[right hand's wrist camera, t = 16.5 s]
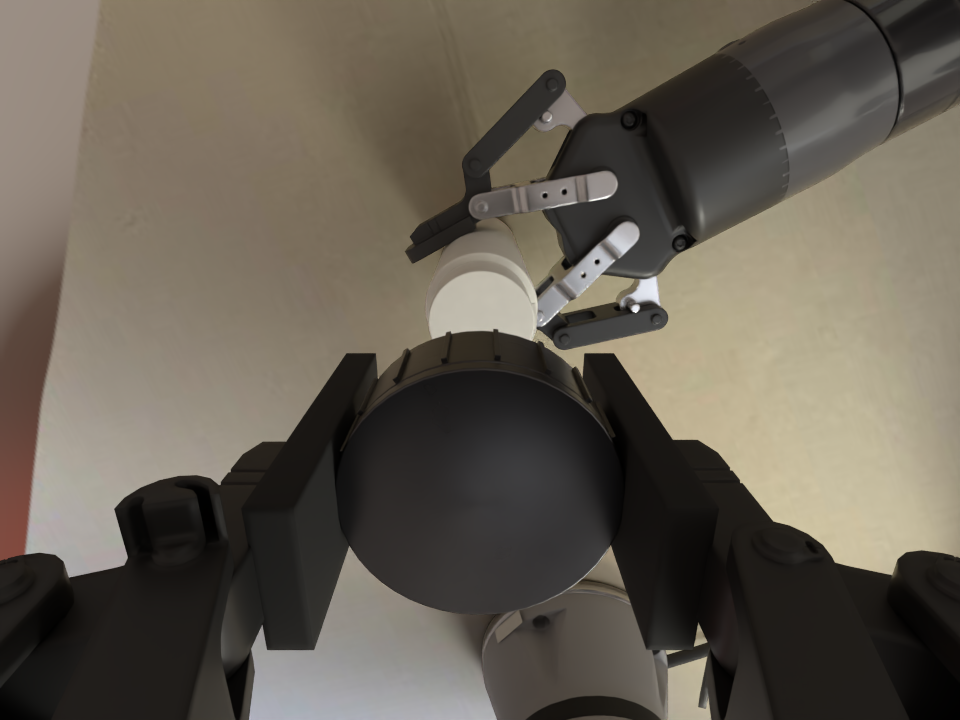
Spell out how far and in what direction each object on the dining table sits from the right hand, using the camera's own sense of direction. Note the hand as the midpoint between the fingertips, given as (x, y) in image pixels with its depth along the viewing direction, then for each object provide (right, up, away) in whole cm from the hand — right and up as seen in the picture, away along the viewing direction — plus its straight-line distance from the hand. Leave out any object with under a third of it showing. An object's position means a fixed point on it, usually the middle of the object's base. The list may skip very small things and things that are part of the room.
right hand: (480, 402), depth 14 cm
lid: (0, -1, -4) cm, 4 cm away
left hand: (-2, +4, +14) cm, 15 cm away
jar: (0, +8, +20) cm, 22 cm away
